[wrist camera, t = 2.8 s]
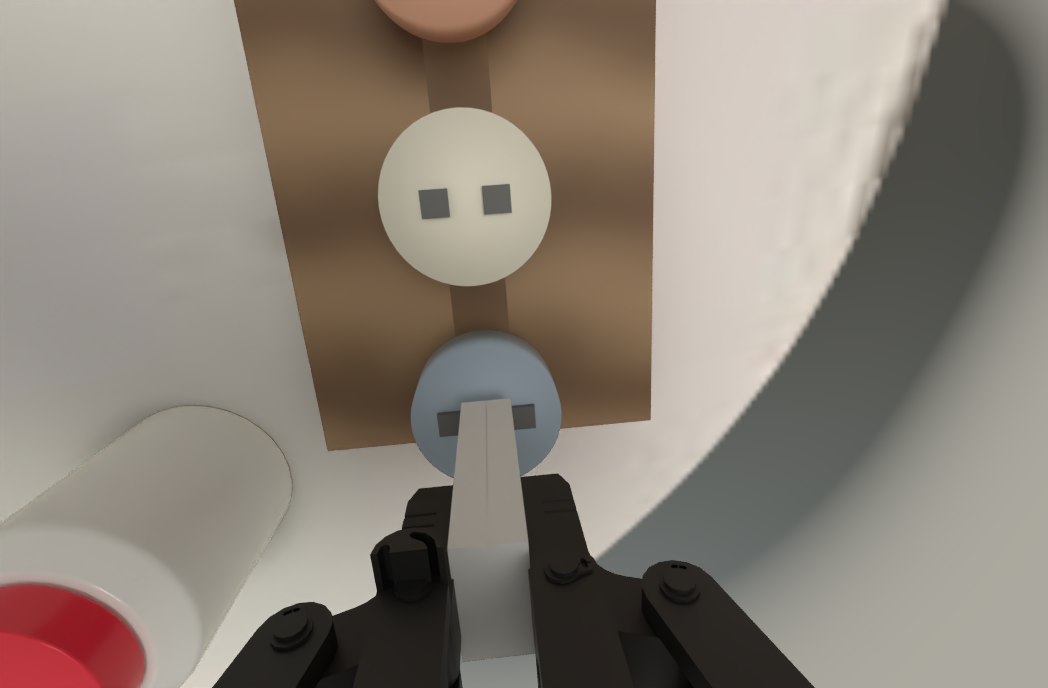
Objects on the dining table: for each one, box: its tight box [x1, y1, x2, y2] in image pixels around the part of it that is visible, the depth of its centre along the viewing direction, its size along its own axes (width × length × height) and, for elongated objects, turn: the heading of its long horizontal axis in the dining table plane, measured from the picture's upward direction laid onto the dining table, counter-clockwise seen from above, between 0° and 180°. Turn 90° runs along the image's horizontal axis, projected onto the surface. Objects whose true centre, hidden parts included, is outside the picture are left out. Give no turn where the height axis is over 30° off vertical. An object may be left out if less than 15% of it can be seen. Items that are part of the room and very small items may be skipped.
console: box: [234, 0, 656, 451], centre depth 20 cm, size 20×14×2 cm
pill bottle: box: [0, 406, 292, 688], centre depth 19 cm, size 8×8×11 cm
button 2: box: [378, 107, 551, 286], centre depth 17 cm, size 5×5×4 cm
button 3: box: [411, 330, 561, 478], centre depth 19 cm, size 5×5×4 cm
